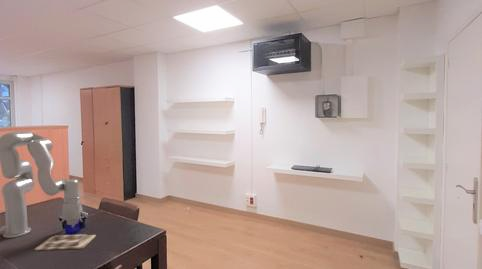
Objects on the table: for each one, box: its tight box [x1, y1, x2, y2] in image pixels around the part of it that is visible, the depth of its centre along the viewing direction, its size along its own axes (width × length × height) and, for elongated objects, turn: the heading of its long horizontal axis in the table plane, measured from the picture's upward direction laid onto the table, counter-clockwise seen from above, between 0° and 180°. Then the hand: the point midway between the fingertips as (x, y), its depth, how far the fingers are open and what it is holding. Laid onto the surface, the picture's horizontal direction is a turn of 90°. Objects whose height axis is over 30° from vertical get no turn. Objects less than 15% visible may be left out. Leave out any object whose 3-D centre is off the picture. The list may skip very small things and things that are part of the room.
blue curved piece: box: [64, 219, 86, 235], centre depth 158 cm, size 12×4×6 cm, turn 170°
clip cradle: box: [34, 233, 97, 251], centre depth 143 cm, size 24×14×2 cm, turn 95°
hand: (73, 228), depth 159 cm, fingers open, 9 cm apart
